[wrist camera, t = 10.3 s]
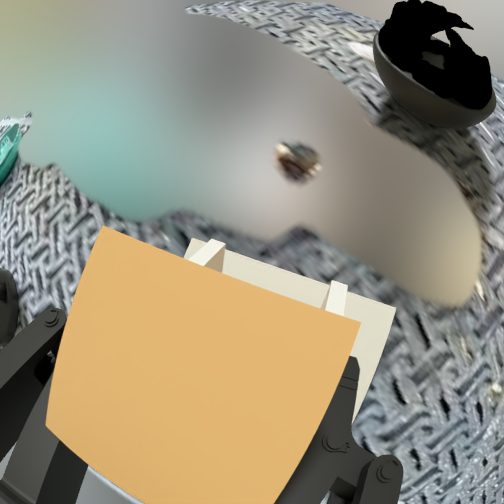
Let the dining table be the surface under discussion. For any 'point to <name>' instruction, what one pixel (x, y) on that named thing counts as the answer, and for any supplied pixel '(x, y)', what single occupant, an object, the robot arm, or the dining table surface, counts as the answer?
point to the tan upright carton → (190, 377)
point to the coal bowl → (433, 67)
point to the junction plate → (313, 293)
